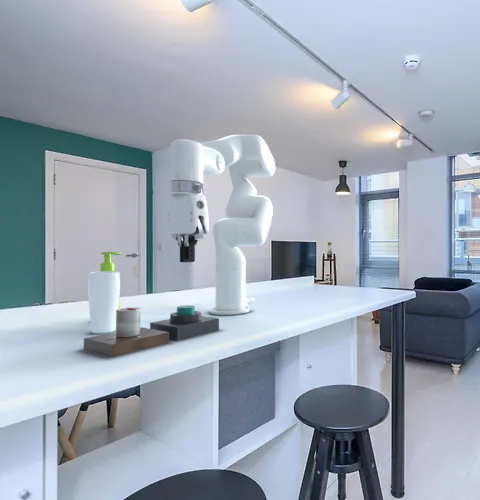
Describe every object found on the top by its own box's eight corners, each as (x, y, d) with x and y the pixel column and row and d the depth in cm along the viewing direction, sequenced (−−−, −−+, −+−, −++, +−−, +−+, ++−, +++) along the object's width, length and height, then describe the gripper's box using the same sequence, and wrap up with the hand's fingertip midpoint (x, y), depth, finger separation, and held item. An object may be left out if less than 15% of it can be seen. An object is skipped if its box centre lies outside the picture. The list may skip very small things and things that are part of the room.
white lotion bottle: (94, 336, 83) (95, 273, 83) (81, 332, 86) (82, 272, 86) (125, 330, 89) (125, 272, 89) (112, 327, 92) (112, 271, 92)
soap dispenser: (109, 323, 97) (110, 252, 97) (89, 322, 98) (90, 251, 98) (127, 319, 103) (127, 251, 103) (107, 318, 104) (108, 251, 104)
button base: (192, 326, 94) (192, 308, 94) (219, 330, 90) (219, 311, 90) (149, 335, 84) (150, 315, 84) (177, 341, 79) (177, 319, 79)
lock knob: (111, 335, 73) (111, 308, 73) (131, 331, 77) (132, 305, 77) (124, 338, 71) (124, 310, 71) (144, 333, 75) (145, 307, 75)
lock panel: (141, 337, 82) (141, 326, 82) (169, 343, 77) (169, 331, 77) (83, 350, 71) (83, 337, 71) (111, 357, 67) (111, 344, 67)
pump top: (187, 312, 89) (187, 304, 89) (198, 314, 88) (198, 306, 88) (173, 315, 86) (173, 307, 86) (184, 316, 84) (184, 308, 84)
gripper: (220, 190, 89) (219, 262, 89) (180, 193, 95) (180, 260, 96) (194, 186, 82) (194, 263, 82) (154, 190, 89) (154, 261, 89)
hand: (187, 261), depth 89 cm, fingers closed
